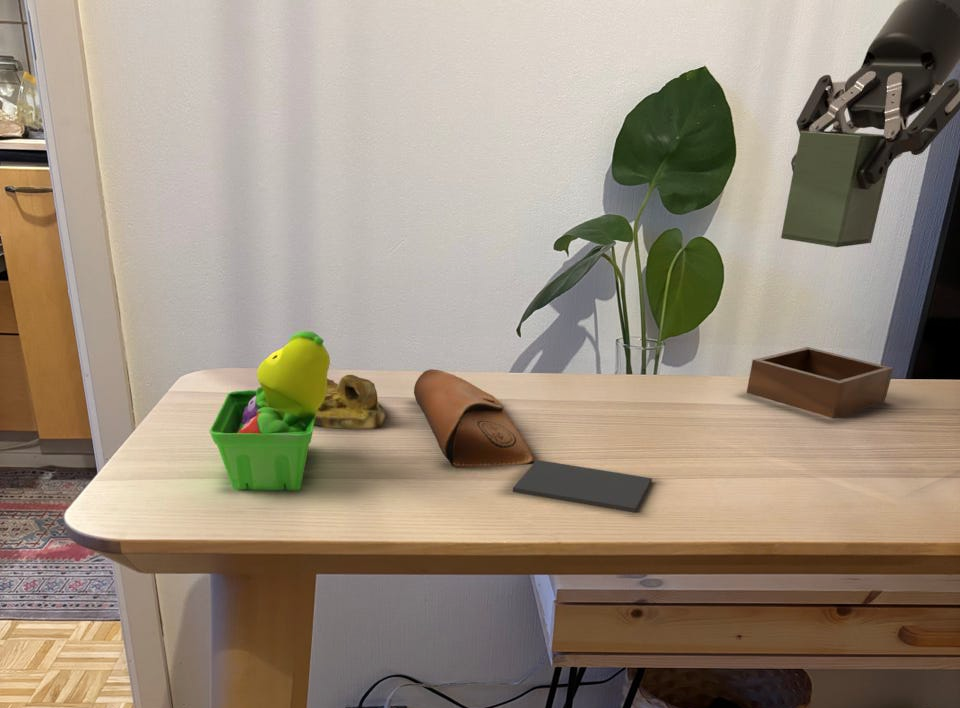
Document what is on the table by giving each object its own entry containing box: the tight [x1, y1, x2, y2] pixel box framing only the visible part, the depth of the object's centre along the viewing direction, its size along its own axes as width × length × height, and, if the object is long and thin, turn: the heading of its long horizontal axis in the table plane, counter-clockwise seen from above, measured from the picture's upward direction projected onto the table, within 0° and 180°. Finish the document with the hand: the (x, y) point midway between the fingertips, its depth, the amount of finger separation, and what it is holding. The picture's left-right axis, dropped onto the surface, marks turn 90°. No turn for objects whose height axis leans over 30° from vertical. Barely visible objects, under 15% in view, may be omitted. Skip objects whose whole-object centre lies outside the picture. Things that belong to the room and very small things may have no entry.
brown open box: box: [746, 346, 895, 419], centre depth 101 cm, size 10×10×4 cm
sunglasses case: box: [413, 368, 535, 468], centre depth 88 cm, size 18×7×7 cm
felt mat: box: [512, 459, 653, 514], centre depth 78 cm, size 10×7×1 cm
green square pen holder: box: [780, 130, 889, 248], centre depth 88 cm, size 6×6×9 cm
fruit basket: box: [209, 330, 331, 491], centre depth 76 cm, size 11×9×11 cm
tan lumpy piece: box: [314, 374, 386, 430], centre depth 92 cm, size 9×5×15 cm
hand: (829, 178), depth 87 cm, fingers closed on green square pen holder, 6 cm apart
